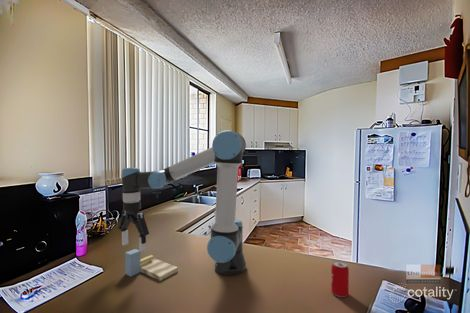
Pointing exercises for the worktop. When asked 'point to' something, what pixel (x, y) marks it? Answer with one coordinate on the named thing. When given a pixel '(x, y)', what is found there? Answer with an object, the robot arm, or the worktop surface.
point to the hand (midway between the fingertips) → (133, 247)
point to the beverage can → (340, 279)
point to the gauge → (135, 262)
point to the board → (158, 269)
